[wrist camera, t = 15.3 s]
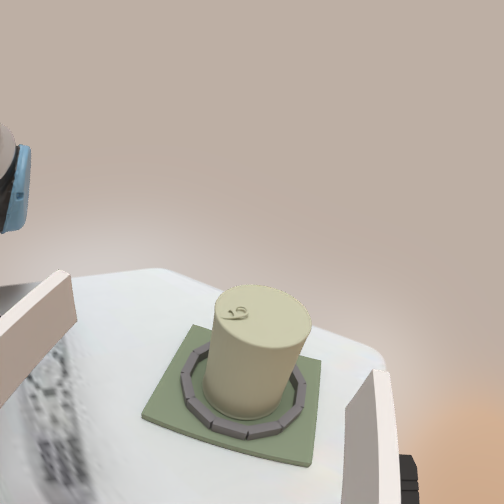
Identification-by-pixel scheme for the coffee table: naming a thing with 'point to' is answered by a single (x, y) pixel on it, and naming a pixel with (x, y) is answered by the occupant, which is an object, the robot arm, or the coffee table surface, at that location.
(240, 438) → the deck mount
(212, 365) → the can
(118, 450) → the coffee table surface
